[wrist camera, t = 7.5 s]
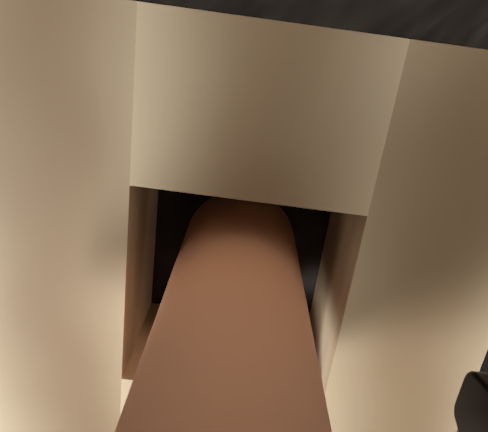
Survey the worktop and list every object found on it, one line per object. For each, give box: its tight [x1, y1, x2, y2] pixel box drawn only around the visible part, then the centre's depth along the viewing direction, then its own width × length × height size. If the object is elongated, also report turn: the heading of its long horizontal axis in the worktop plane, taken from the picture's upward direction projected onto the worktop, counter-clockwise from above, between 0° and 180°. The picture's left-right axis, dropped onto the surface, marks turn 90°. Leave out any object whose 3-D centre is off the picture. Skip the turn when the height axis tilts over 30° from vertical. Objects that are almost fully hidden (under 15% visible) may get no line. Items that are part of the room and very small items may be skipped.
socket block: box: [0, 0, 488, 432], centre depth 12 cm, size 12×12×4 cm
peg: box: [115, 196, 332, 432], centre depth 10 cm, size 3×3×9 cm
